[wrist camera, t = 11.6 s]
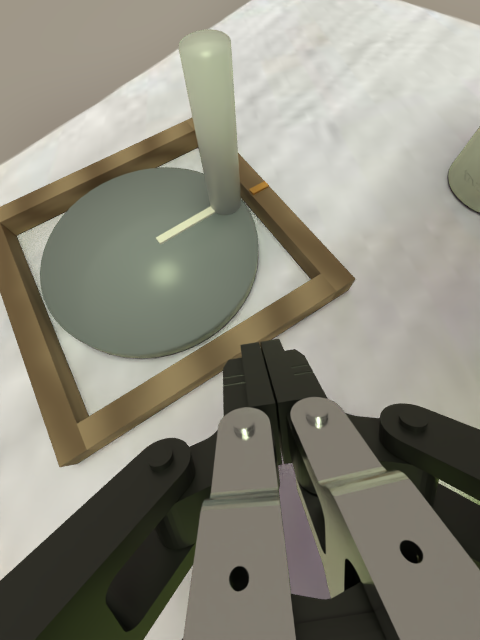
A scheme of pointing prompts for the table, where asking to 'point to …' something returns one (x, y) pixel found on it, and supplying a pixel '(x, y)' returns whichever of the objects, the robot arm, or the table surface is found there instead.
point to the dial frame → (182, 377)
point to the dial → (161, 235)
